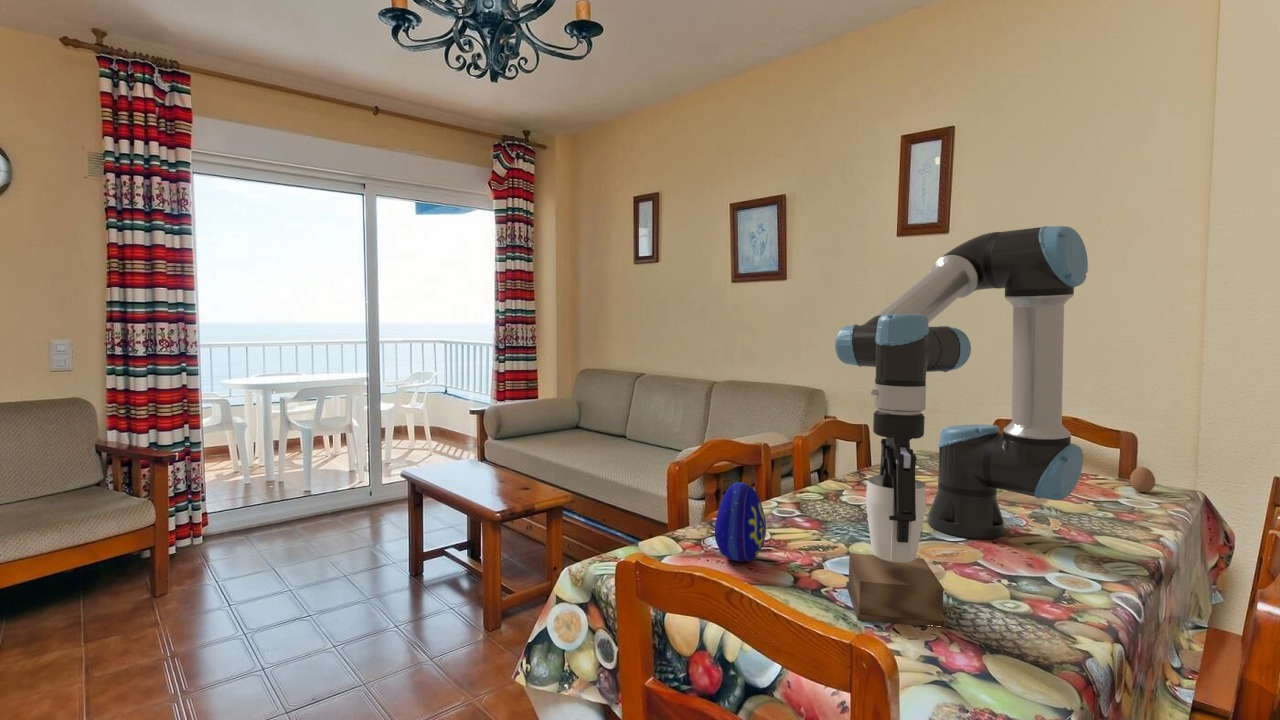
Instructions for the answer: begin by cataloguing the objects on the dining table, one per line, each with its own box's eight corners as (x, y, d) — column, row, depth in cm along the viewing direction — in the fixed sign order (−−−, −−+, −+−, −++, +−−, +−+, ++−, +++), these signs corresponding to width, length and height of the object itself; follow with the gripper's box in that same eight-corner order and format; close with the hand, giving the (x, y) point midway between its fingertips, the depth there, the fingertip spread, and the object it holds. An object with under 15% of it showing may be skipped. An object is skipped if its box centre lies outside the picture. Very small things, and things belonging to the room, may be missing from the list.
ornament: (750, 573, 115) (752, 492, 114) (705, 563, 119) (706, 485, 119) (772, 554, 124) (773, 479, 123) (729, 545, 129) (730, 473, 128)
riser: (923, 592, 107) (924, 558, 107) (944, 627, 95) (946, 589, 95) (846, 585, 110) (847, 552, 109) (857, 619, 97) (858, 581, 97)
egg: (1159, 495, 169) (1161, 469, 168) (1139, 495, 169) (1140, 469, 168) (1144, 490, 174) (1145, 465, 174) (1124, 489, 174) (1125, 464, 174)
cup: (930, 568, 96) (933, 491, 96) (868, 563, 98) (871, 487, 98) (916, 547, 105) (919, 477, 105) (860, 543, 107) (862, 473, 106)
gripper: (863, 401, 111) (859, 527, 113) (887, 420, 91) (881, 574, 92) (908, 403, 110) (903, 530, 112) (943, 422, 89) (936, 578, 91)
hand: (893, 550), depth 102 cm, fingers closed on cup, 9 cm apart
